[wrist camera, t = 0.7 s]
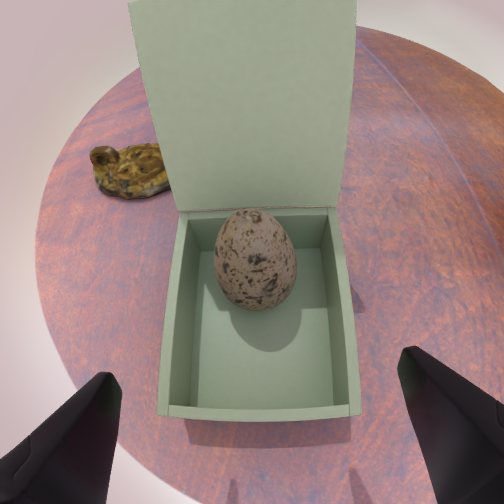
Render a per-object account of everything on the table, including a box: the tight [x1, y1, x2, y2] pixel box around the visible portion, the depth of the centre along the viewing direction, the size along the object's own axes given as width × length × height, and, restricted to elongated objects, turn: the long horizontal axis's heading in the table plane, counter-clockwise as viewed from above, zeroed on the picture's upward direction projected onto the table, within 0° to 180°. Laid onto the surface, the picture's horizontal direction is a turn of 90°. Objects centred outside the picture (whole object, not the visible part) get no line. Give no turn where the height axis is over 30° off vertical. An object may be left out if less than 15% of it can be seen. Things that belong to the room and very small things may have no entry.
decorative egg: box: [214, 208, 297, 311], centre depth 21 cm, size 6×6×10 cm
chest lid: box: [128, 0, 356, 211], centre depth 18 cm, size 16×13×4 cm
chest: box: [157, 207, 362, 422], centre depth 22 cm, size 16×13×6 cm
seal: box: [90, 143, 171, 199], centre depth 34 cm, size 9×5×15 cm
